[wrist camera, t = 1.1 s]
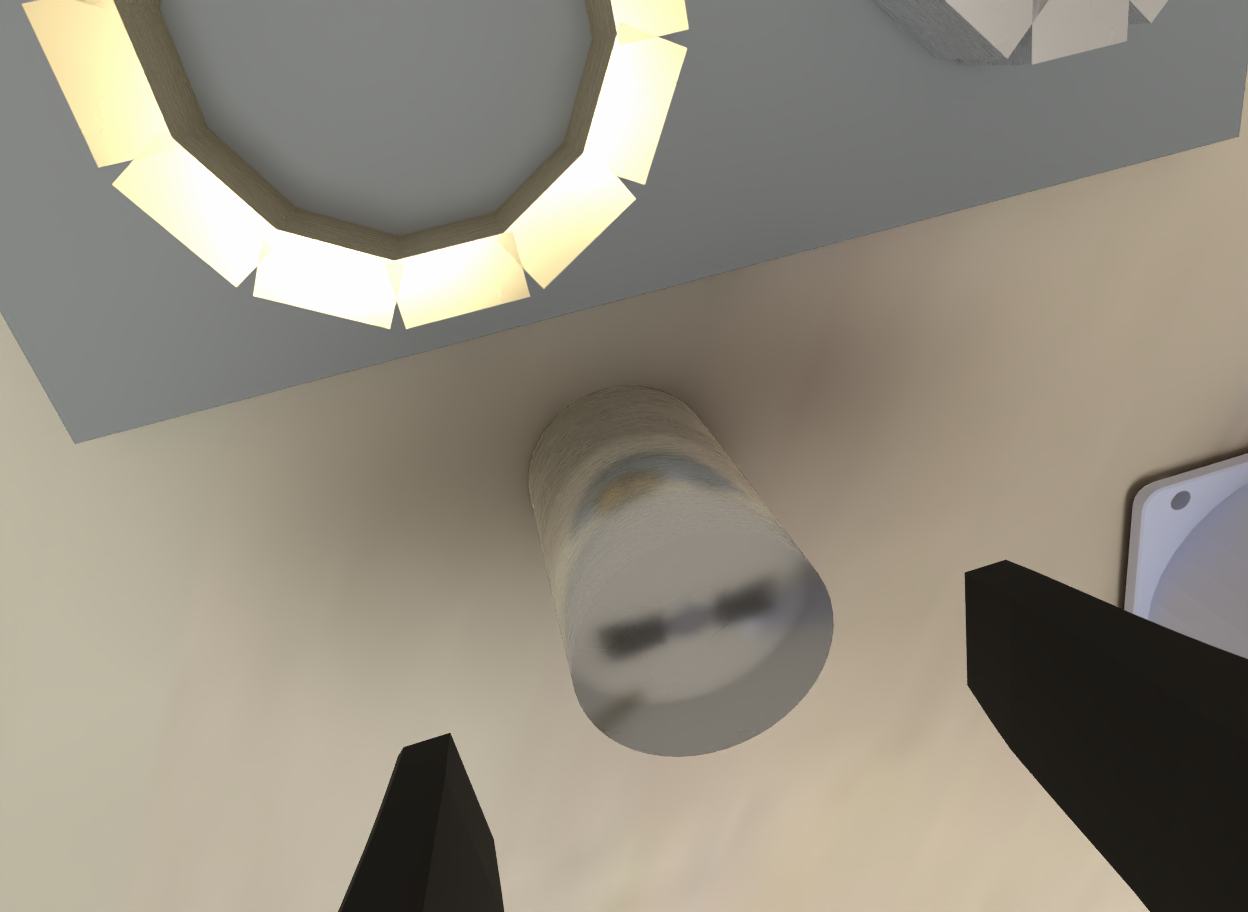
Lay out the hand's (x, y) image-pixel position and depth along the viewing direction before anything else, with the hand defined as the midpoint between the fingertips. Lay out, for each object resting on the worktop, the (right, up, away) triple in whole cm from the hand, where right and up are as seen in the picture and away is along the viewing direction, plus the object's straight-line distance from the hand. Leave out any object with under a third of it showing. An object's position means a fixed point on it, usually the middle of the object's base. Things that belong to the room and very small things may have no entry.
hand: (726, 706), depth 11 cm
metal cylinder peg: (-1, +3, +6) cm, 7 cm away
